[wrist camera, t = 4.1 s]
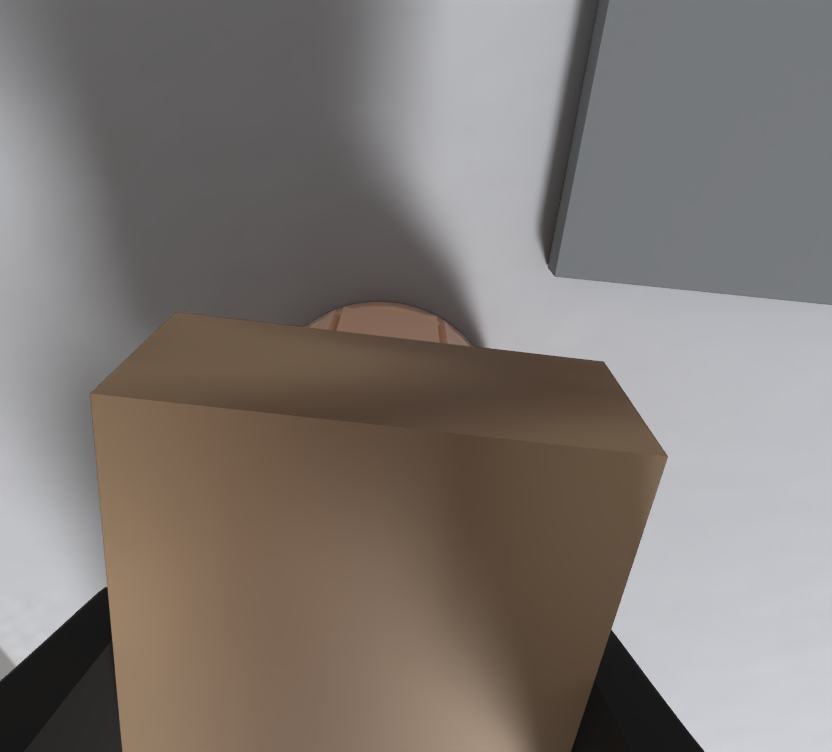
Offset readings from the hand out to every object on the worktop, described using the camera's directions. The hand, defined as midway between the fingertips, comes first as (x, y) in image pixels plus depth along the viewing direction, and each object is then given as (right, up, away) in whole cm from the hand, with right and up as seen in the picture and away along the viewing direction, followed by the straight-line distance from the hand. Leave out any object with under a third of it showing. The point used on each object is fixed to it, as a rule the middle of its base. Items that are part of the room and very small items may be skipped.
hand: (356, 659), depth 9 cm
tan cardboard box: (0, +1, +1) cm, 1 cm away
